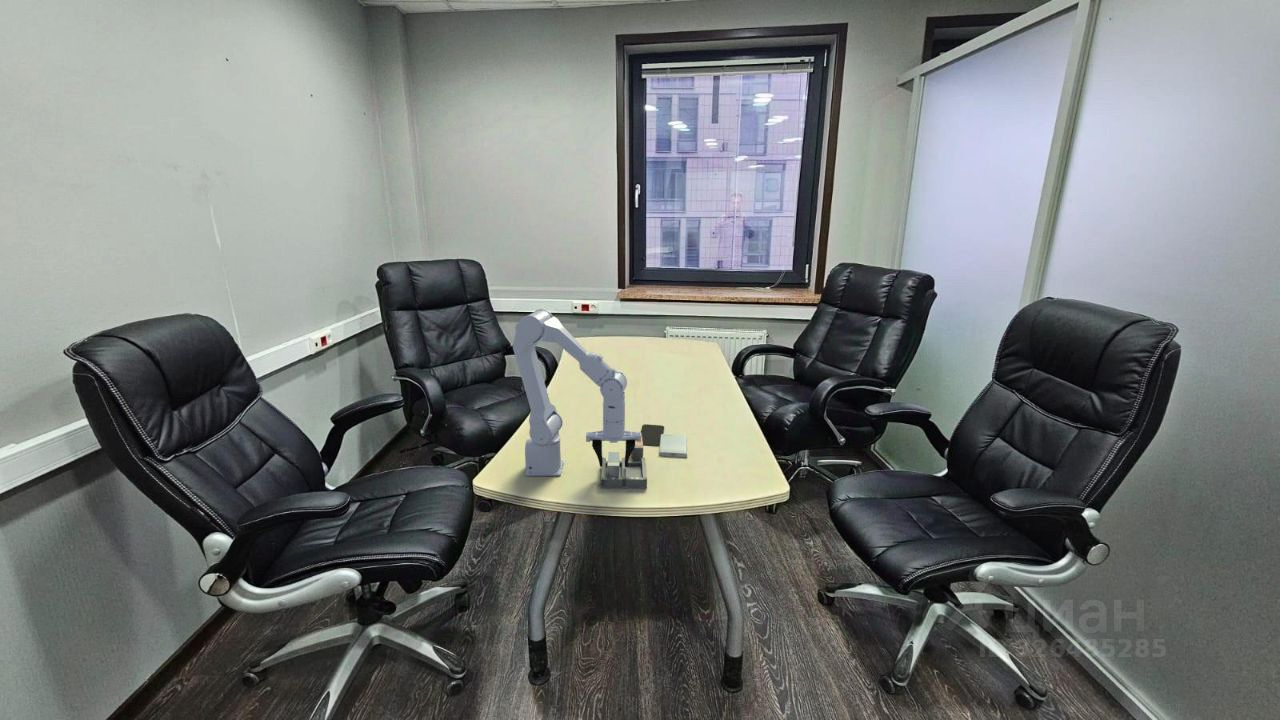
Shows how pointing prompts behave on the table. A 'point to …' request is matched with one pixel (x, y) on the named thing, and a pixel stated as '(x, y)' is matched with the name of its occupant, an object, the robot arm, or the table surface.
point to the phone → (651, 434)
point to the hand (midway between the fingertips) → (613, 465)
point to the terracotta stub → (637, 451)
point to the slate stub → (613, 465)
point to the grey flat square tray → (626, 475)
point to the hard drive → (673, 445)
